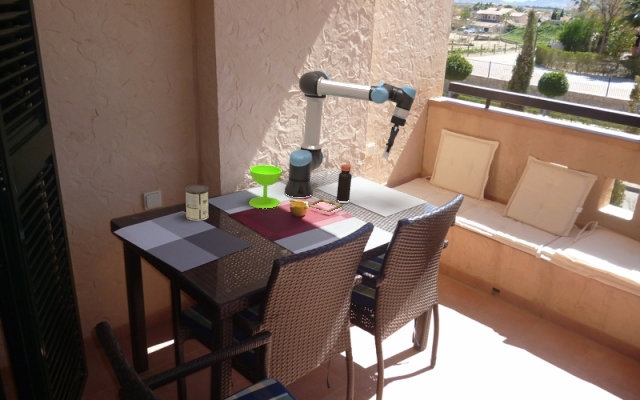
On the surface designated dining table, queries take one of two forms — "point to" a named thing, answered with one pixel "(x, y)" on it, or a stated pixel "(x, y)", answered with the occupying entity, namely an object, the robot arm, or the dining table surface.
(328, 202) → the tray
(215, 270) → the dining table surface
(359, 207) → the dining table surface
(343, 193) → the vinegar
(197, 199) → the coffee can
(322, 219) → the dining table surface
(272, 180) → the wineglass
